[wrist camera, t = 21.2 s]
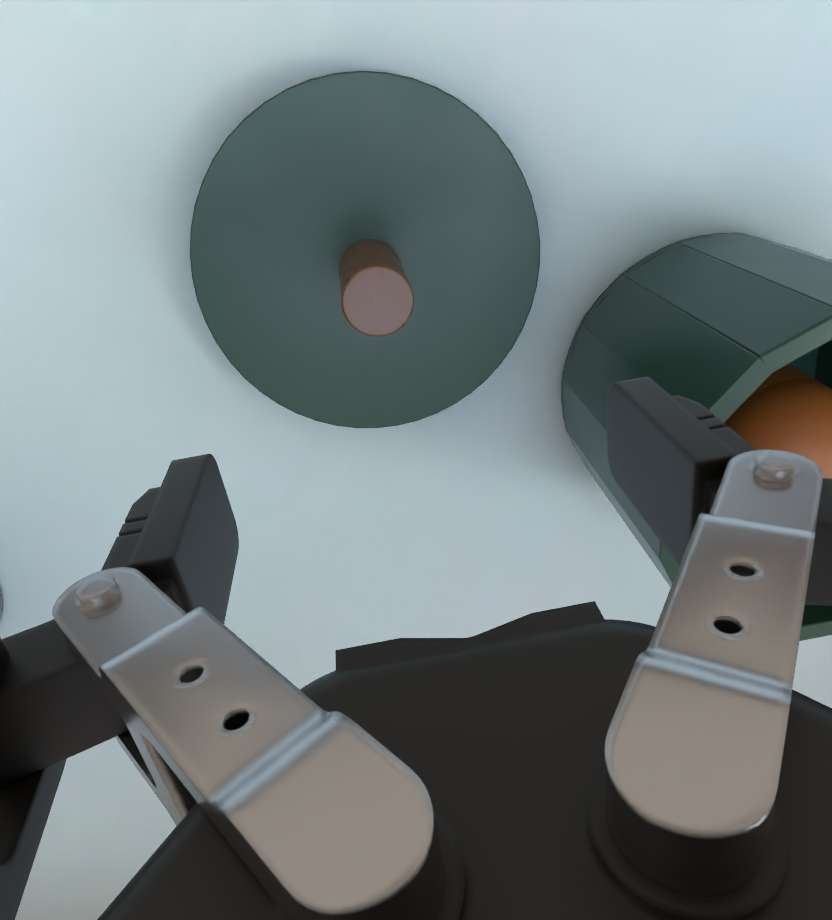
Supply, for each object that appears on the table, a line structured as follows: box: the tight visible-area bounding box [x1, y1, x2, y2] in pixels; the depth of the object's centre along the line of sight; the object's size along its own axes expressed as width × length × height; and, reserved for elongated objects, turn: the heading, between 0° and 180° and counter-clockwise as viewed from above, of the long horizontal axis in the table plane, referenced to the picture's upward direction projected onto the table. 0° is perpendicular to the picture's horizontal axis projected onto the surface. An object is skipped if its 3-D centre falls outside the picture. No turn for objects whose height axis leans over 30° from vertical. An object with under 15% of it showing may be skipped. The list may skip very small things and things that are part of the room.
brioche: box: [724, 364, 832, 478], centre depth 29 cm, size 5×5×10 cm
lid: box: [190, 71, 540, 428], centre depth 27 cm, size 15×15×6 cm
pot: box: [561, 233, 832, 641], centre depth 29 cm, size 14×14×12 cm
